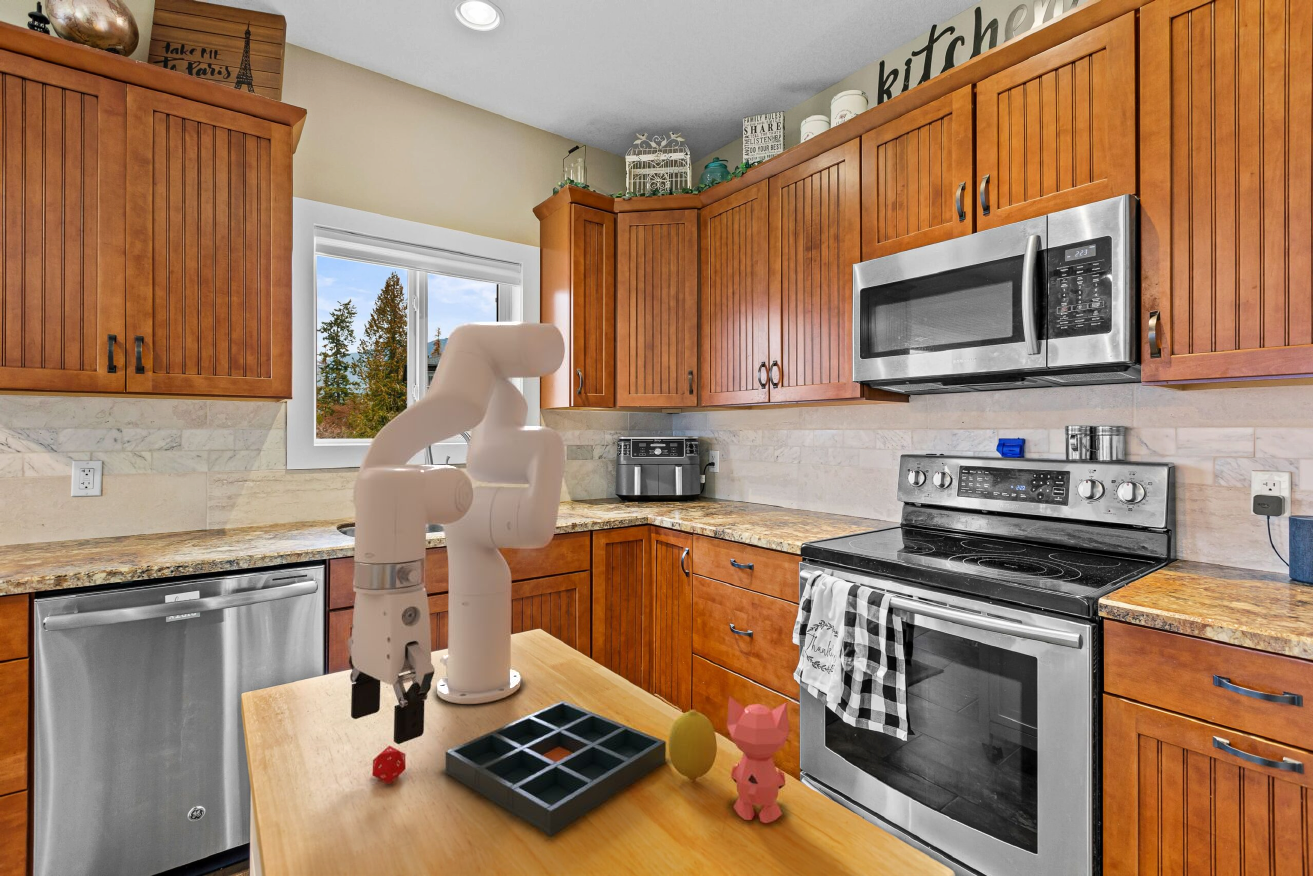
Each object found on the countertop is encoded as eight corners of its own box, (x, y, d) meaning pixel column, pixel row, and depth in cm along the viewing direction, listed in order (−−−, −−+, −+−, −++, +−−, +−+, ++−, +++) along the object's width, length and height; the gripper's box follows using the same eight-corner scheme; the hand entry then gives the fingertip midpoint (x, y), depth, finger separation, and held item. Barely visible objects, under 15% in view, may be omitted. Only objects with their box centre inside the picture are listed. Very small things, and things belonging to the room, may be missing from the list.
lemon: (713, 796, 67) (714, 723, 67) (664, 790, 68) (664, 718, 69) (718, 770, 73) (719, 702, 73) (672, 765, 74) (673, 698, 74)
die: (358, 775, 69) (378, 748, 69) (376, 759, 72) (395, 733, 72) (382, 796, 69) (403, 769, 68) (399, 780, 72) (418, 754, 72)
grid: (445, 772, 72) (445, 751, 72) (562, 718, 86) (562, 700, 86) (550, 837, 60) (550, 811, 60) (665, 761, 75) (666, 741, 75)
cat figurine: (792, 800, 67) (793, 689, 67) (790, 840, 60) (791, 716, 60) (727, 791, 68) (728, 683, 69) (718, 828, 62) (719, 708, 62)
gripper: (462, 580, 68) (459, 737, 67) (384, 562, 79) (380, 698, 78) (397, 591, 62) (393, 763, 61) (322, 570, 73) (318, 716, 72)
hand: (386, 726), depth 70 cm, fingers open, 9 cm apart
